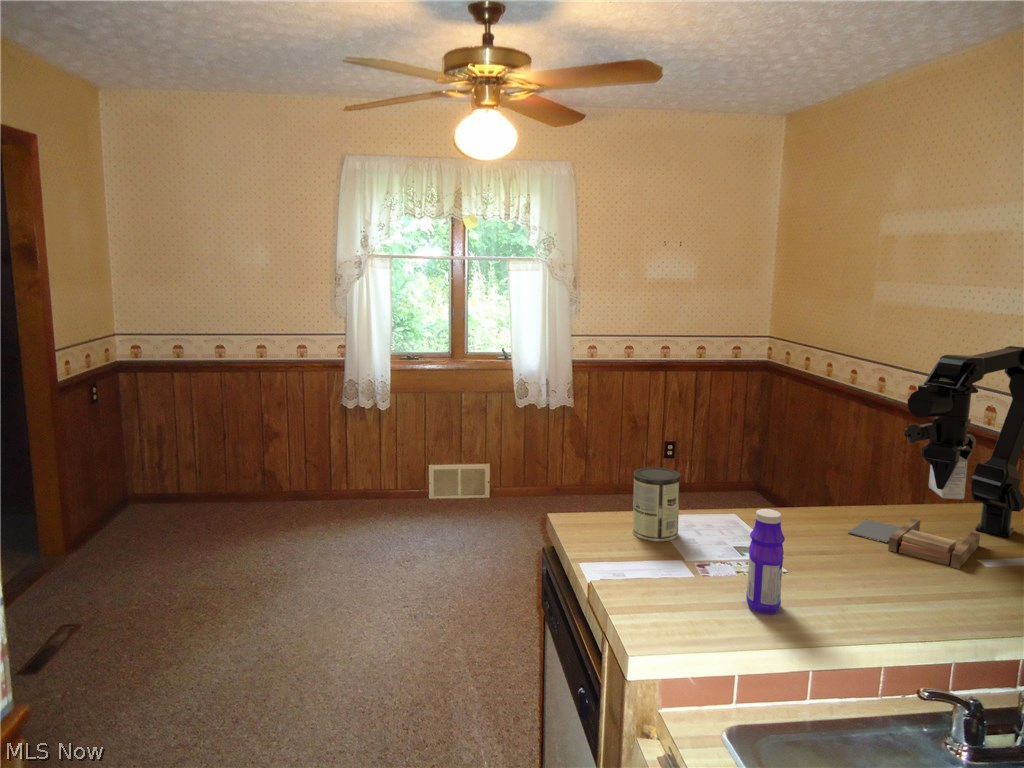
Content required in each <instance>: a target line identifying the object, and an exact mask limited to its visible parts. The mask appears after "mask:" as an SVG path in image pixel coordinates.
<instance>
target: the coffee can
mask: <svg viewBox="0 0 1024 768" xmlns="http://www.w3.org/2000/svg"><path fill="white" fill-rule="evenodd" d="M681 477H682V476H681V473H680V472H678V471H677V470H674V469H670V468H665V467H654V466H652V467H651V466H650V467H649V466H648V467H643V468H642V467H641V468H638V469H635V470H634V471H633V498H632V499H633V504H632V508H633V509H632V510H633V512H632V533H633V535H634V536H635V537H637V538H639V539H641V540H644V541H650V542H663V543H664V542H668V541H669V542H670V541H673V540H675V539H677V538H678V536H679V511H680V507H679V506H680V488H681V487H680V486H681V485H680V483H681V482H680V480H681Z"/></svg>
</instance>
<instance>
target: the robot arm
mask: <svg viewBox="0 0 1024 768" xmlns="http://www.w3.org/2000/svg"><path fill="white" fill-rule="evenodd" d="M1003 370H1004V374H1006V376H1007V377H1008V379H1009V382H1008V383H1009V384H1008V390H1009V392H1010V395H1011V398H1012V400H1011V403H1010V406H1009V407H1008V410H1007V413H1006V415H1005V419H1004V422H1003V424H1002V426H1001V429H1000V432H999V434H998V438H997V441H996V443H995V445H994V448H993V450H992V453H991V456H990V458H989V459H988V460H986V461H985V462H984V463H982V462H978V463H977V464H976V465H975V468H974V471H973V474H972V476H971V477H970V479H971V480H970V490H971V496H972V501H974V502H979V503H981V513H980V521H979V523H978V524H977V525H976V526H975V528H974V529H975V530H974V531H976V532H981V533H982V532H983V533H987V534H991V535H996V536H1001V537H1005V538H1010V537H1011V536H1012V534H1013V533H1014V532H1015V528H1014V527H1012V520H1013V519H1012V518H1013V512H1016V513H1017V512H1018V513H1019V512H1020V513H1021V511H1022V510H1024V495H1023V493H1022V492H1021V491H1020V488H1019V487H1020V482H1021V478H1020V475H1019V472H1018V468H1017V465H1018V463H1019V460H1020V457H1021V455H1022V452H1023V449H1024V346H1013V345H1010V346H1009V345H1008V346H1005V347H1004V348H1001V349H995V350H990V351H987V352H983V353H978V354H973V355H967V354H965V355H964V354H963V355H962V354H944V355H942V356H941V357H939V360H938V361H936V364H935V365H934V367H933V368H932V370H931V371H930V373H929V375H928V376H927V378H926V380H925V381H924V383H923V384H918V386H917V390H915V391H913V392H912V393H911V394H910V396H909V398H908V399H907V408H908V410H909V412H910V414H912V416H915V418H916V417H917V418H919V419H920V418H922V419H923V418H931V417H932V418H933V419H932V422H929V423H924V424H919V423H914V424H909V425H907V427H906V428H905V429H904V435H903V436H904V437H905V438H907V441H908V443H909V444H912V443H915V442H920V441H925V440H929V443H928V444H926V445H925V446H922V448H921V458H922V459H923V460H924V461H926V462H928V463H929V465H932V468H933V472H934V477H935V481H936V486H937V489H941V490H942V489H944V487H945V485H946V483H947V482H948V480H949V478H950V476H951V475H952V473H953V471H954V469H955V468H956V466H957V464H958V462H959V461H958V460H959V456H961V457H962V458H964V459H965V460H967V461H968V459H969V458H970V456H971V455H972V453H973V452H974V449H975V448H976V444H977V438H976V437H975V436H974V435H973V434H972V433H970V434H969V433H968V428H969V427H968V426H970V424H971V422H972V419H971V418H970V410H971V399H972V394H978V393H979V390H978V389H977V387H976V386H974V384H975V383H977V382H979V381H981V380H983V379H984V376H985V375H988V374H991V373H995V372H998V371H999V372H1000V371H1003ZM968 447H969V448H968Z"/></svg>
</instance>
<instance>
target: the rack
mask: <svg viewBox="0 0 1024 768" xmlns="http://www.w3.org/2000/svg"><path fill="white" fill-rule="evenodd" d="M921 520H922V519H921V518H916V517H912V518H911V519H909V520H908V521H907V522H906V523H905V524H904V525H902V526H900V527H901V528H900V529H899V530H898V531H896V532H895V533H894V534H893V535H891V536H890V537H889V542H888V549H887V551H888V550H889V552H891V551H893V552H892V553H895V552H896V553H897V552H899V547H900V546H901V542H902V539H903V535H905V534H906V533H907V532H909V531H910V530H915V531H919V532H920V528H921ZM980 539H981V531H977V530H971V532H970V533H969V534H968V535H967V536H966V537H965V538H964V539H963V540H962V541H961V542H960V543H959V544H958V546H956V547H955V550H954V551H953V552H952V558H951V564H950V567H951V568H954V569H958V570H960V569H961V567H962V566H963V565H964V564H965V563H966V561H968V559H969V558H970V557H971V556H972V555H973V554H974V552H976V550H977V549H978V548H979V546H980Z"/></svg>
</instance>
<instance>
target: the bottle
mask: <svg viewBox="0 0 1024 768" xmlns="http://www.w3.org/2000/svg"><path fill="white" fill-rule="evenodd" d="M781 522H782V514H781V512H779V511H778V510H775V509H769V508H764V509H763V508H762V509H758V510H756V512H755V523H754V526H753V529H752V530H751V532H749V533H750V534H749V538H750V539H751V541H750V543H749V547H748V571H747V585H746V593H745V594H746V598H745V599H746V602H747V605H748V607H749V608H750V610H752V611H754V612H755V613H760V614H766V615H767V614H768V615H771V614H777V613H778V611H779V609H780V607H781V603H782V600H781V598H782V597H781V594H782V592H781V591H782V580H783V579H782V578H783V577H782V575H783V574H782V573H783V563H784V560H785V559H784V558H785V557H784V555H785V554H784V546H783V544H784V542H785V539H786V538H785V536H784V534H783V530H782V523H781Z"/></svg>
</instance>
